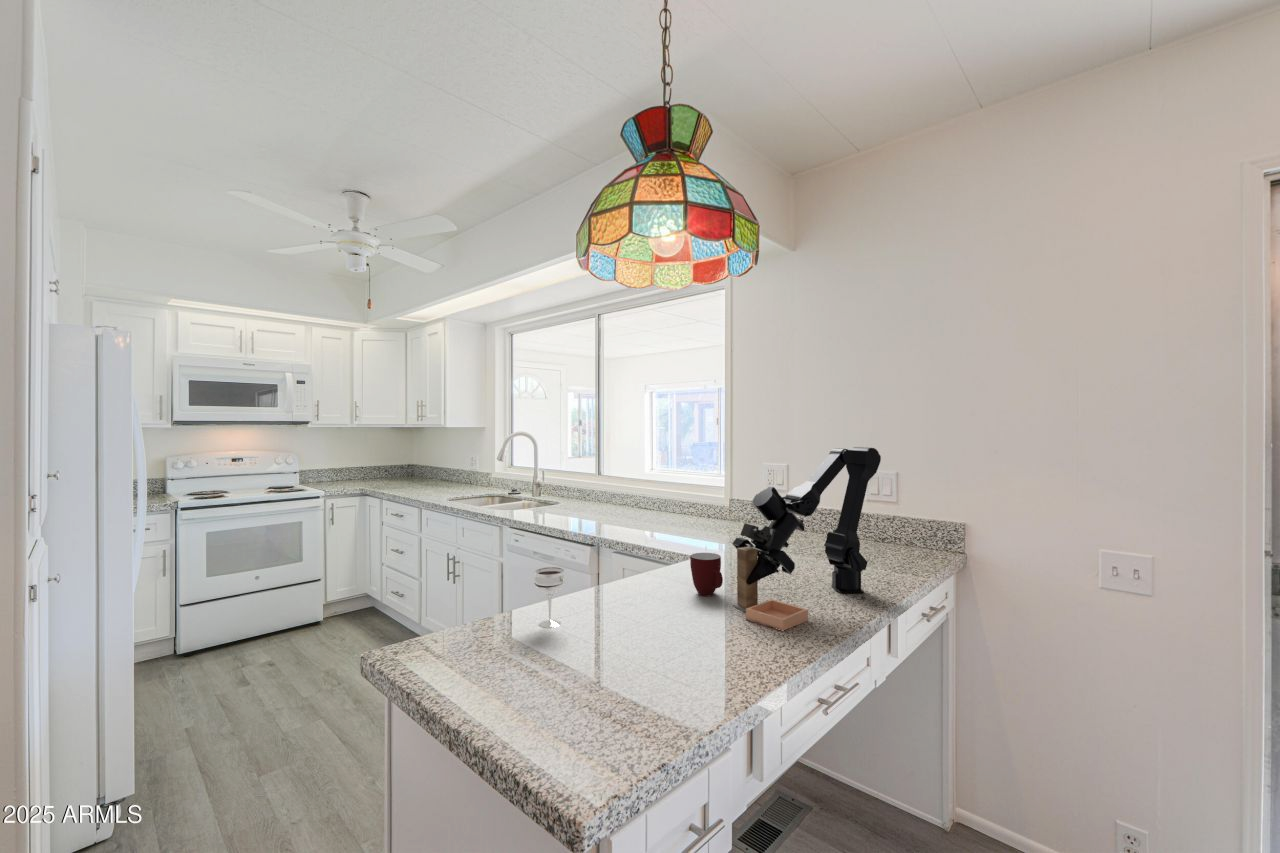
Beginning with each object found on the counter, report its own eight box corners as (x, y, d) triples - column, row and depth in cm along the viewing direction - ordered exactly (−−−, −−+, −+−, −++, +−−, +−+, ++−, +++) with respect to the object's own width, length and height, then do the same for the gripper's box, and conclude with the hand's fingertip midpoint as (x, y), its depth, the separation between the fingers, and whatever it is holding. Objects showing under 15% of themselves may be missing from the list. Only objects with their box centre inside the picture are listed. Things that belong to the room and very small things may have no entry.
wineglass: (566, 627, 121) (566, 573, 121) (535, 630, 120) (535, 576, 120) (563, 617, 128) (562, 566, 128) (533, 619, 126) (533, 568, 126)
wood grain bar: (749, 603, 137) (749, 545, 137) (762, 609, 133) (761, 549, 133) (733, 606, 135) (732, 547, 135) (745, 612, 130) (744, 551, 130)
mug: (734, 596, 143) (734, 558, 142) (712, 602, 138) (712, 563, 138) (705, 587, 151) (705, 551, 151) (684, 592, 146) (684, 555, 146)
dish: (771, 609, 132) (771, 599, 132) (808, 620, 125) (808, 609, 125) (745, 619, 126) (745, 608, 126) (783, 631, 118) (783, 620, 118)
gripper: (738, 506, 144) (702, 552, 139) (784, 517, 127) (745, 570, 122) (762, 533, 147) (728, 579, 143) (811, 547, 130) (774, 600, 126)
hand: (742, 581), depth 133 cm, fingers closed on wood grain bar, 3 cm apart
